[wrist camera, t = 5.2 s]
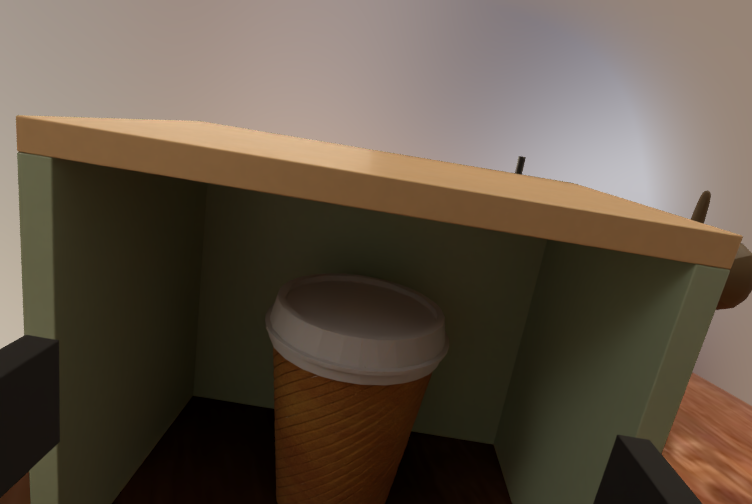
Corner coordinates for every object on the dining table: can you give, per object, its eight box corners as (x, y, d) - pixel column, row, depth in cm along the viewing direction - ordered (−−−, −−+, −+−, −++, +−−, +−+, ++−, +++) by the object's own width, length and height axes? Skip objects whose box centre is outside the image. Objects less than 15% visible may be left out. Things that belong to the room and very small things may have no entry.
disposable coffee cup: (441, 547, 25) (492, 342, 22) (258, 588, 21) (288, 349, 18) (376, 432, 33) (406, 273, 30) (237, 448, 30) (255, 267, 26)
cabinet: (585, 658, 21) (744, 236, 16) (32, 569, 20) (14, 114, 15) (505, 437, 35) (574, 183, 30) (183, 384, 35) (199, 121, 30)
